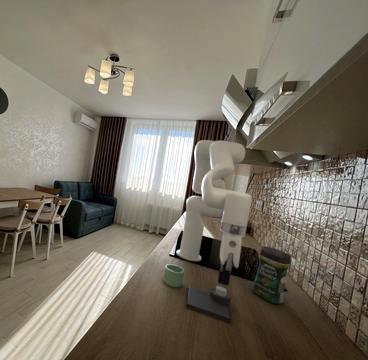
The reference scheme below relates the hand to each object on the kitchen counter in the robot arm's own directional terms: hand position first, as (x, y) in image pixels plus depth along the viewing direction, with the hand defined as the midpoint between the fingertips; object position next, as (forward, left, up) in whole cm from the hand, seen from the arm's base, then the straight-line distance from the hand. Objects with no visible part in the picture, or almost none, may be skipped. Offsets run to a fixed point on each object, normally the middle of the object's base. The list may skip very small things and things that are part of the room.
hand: (222, 283), depth 71 cm
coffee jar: (-16, +18, -7) cm, 25 cm away
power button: (0, 0, -4) cm, 4 cm away
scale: (+4, -4, -7) cm, 9 cm away
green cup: (-3, -16, -7) cm, 18 cm away
